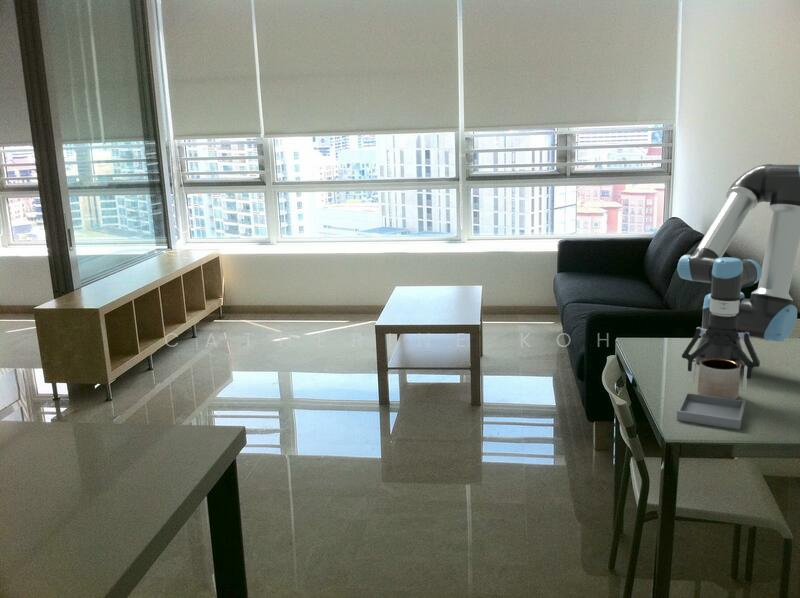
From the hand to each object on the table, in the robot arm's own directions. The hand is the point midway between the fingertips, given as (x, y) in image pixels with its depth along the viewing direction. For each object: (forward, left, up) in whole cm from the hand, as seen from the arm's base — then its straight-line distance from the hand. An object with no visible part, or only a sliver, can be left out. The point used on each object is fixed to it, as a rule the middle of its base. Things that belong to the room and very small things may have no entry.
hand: (718, 385), depth 211 cm
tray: (+16, 0, -3) cm, 16 cm away
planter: (0, 0, -3) cm, 3 cm away
